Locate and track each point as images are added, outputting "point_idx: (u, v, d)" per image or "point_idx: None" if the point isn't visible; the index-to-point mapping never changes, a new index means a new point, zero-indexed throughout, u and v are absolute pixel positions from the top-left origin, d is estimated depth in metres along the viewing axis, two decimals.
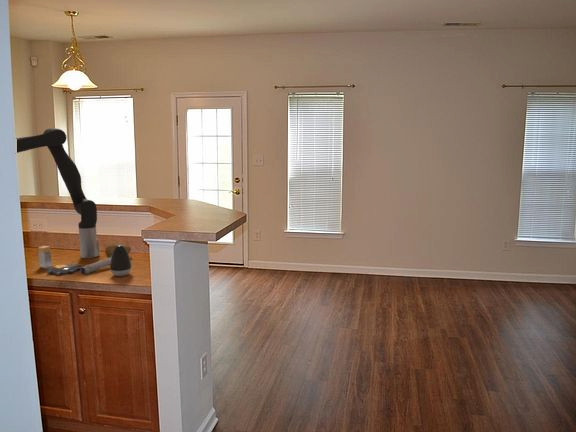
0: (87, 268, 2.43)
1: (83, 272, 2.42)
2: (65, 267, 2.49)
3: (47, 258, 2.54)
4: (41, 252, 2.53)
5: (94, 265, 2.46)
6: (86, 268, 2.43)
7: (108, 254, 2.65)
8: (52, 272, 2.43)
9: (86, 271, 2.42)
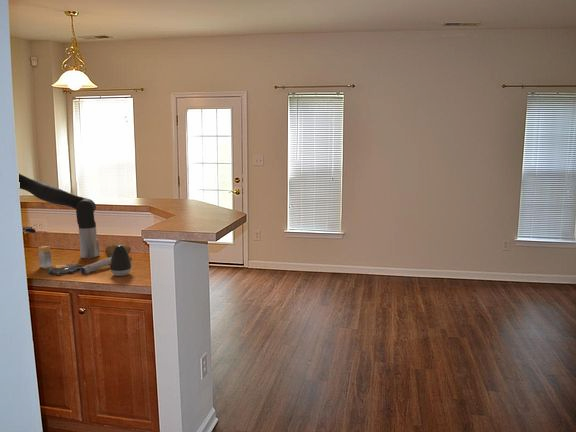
0: (87, 268, 2.43)
1: (83, 272, 2.42)
2: (65, 267, 2.49)
3: (47, 258, 2.54)
4: (41, 252, 2.53)
5: (94, 265, 2.46)
6: (86, 268, 2.43)
7: (108, 254, 2.65)
8: (52, 272, 2.43)
9: (86, 271, 2.42)
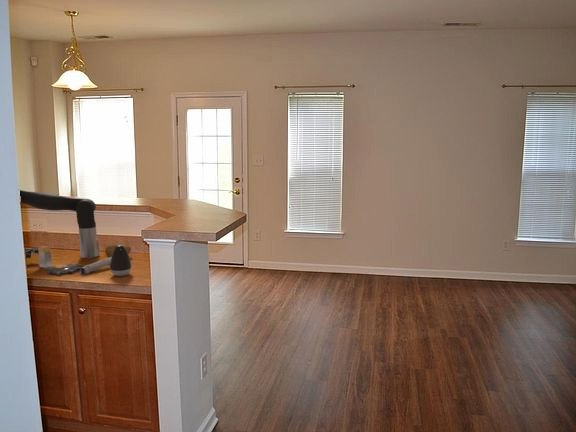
0: (87, 268, 2.43)
1: (83, 272, 2.42)
2: (65, 267, 2.49)
3: (47, 258, 2.54)
4: (41, 252, 2.53)
5: (94, 265, 2.46)
6: (86, 268, 2.42)
7: (108, 254, 2.65)
8: (52, 272, 2.43)
9: (86, 271, 2.42)
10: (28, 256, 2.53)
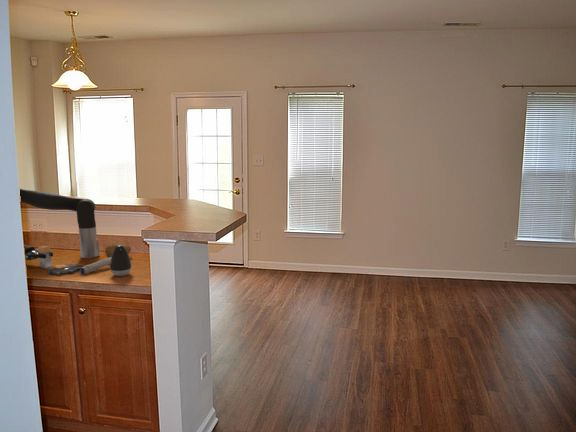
0: (86, 268, 2.43)
1: (82, 272, 2.42)
2: (65, 267, 2.49)
3: (47, 258, 2.54)
4: (41, 252, 2.53)
5: (93, 265, 2.46)
6: (85, 268, 2.42)
7: (108, 254, 2.65)
8: (52, 272, 2.43)
9: (85, 271, 2.42)
10: (43, 256, 2.52)
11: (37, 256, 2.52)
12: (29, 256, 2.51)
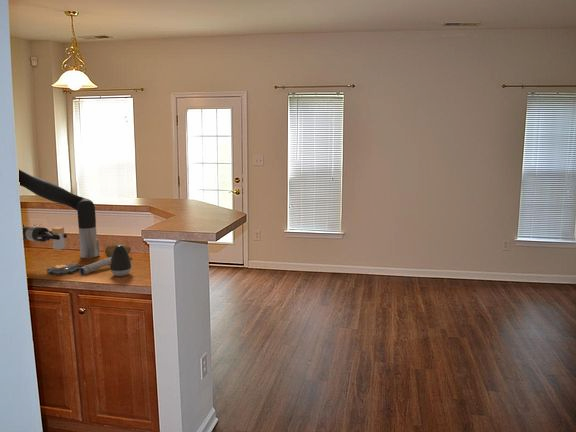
0: (86, 268, 2.42)
1: (82, 272, 2.42)
2: (65, 267, 2.49)
3: (61, 239, 2.48)
4: (55, 233, 2.46)
5: (93, 265, 2.46)
6: (85, 268, 2.42)
7: (108, 254, 2.65)
8: (52, 272, 2.43)
9: (85, 271, 2.42)
10: (57, 238, 2.45)
11: (51, 237, 2.45)
12: (42, 237, 2.44)
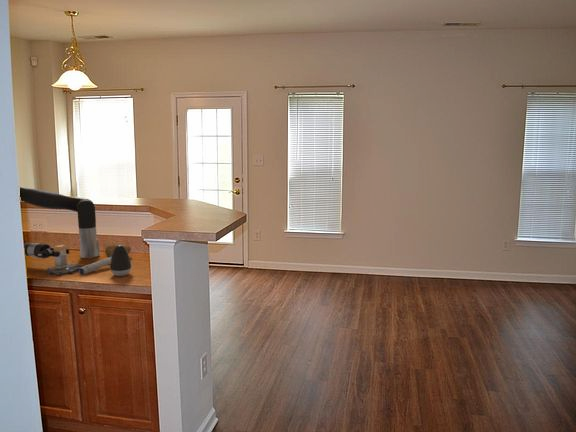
0: (85, 268, 2.42)
1: (81, 272, 2.42)
2: (65, 267, 2.49)
3: (63, 257, 2.49)
4: None
5: (92, 265, 2.46)
6: (84, 268, 2.42)
7: (108, 254, 2.65)
8: (52, 272, 2.43)
9: (84, 271, 2.41)
10: (56, 255, 2.45)
11: (50, 254, 2.46)
12: (42, 254, 2.45)
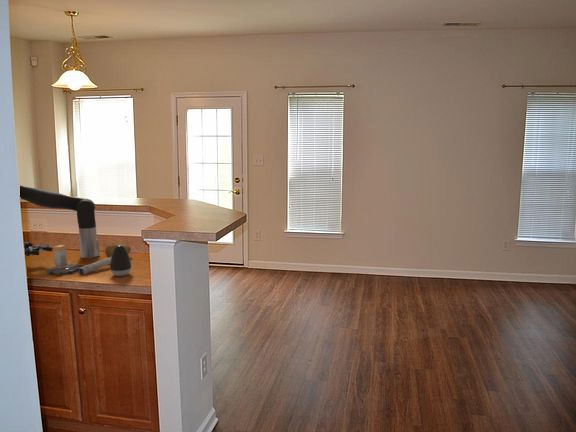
0: (85, 269, 2.42)
1: (81, 273, 2.41)
2: (65, 267, 2.49)
3: (63, 257, 2.49)
4: (57, 252, 2.48)
5: (92, 265, 2.45)
6: (84, 269, 2.42)
7: (108, 254, 2.65)
8: (52, 272, 2.43)
9: (84, 272, 2.41)
10: (36, 253, 2.49)
11: (30, 253, 2.49)
12: None
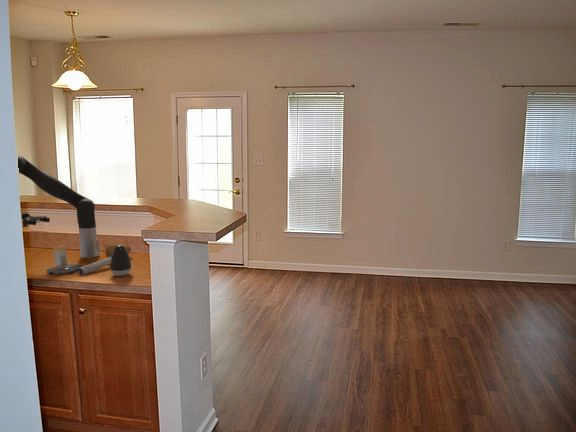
0: (85, 269, 2.42)
1: (81, 273, 2.41)
2: (65, 267, 2.49)
3: (63, 257, 2.49)
4: (57, 252, 2.48)
5: (92, 266, 2.45)
6: (84, 269, 2.42)
7: (108, 254, 2.65)
8: (52, 272, 2.43)
9: (84, 272, 2.41)
10: (33, 223, 2.46)
11: (27, 222, 2.46)
12: None
